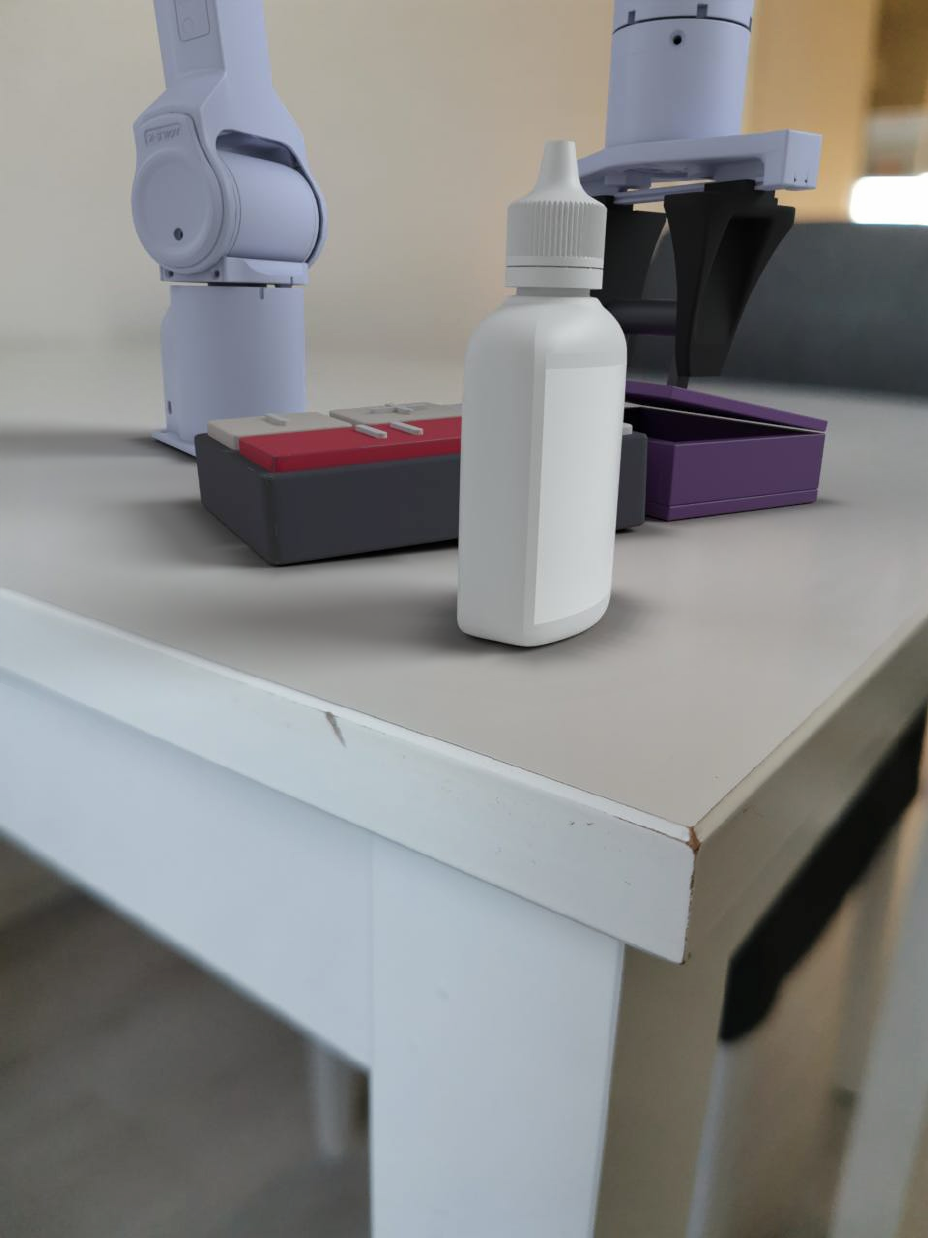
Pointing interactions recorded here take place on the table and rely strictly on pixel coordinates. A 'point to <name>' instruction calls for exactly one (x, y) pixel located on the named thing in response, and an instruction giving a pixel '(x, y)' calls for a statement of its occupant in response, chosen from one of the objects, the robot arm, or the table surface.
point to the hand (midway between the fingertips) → (652, 371)
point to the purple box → (723, 464)
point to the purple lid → (661, 321)
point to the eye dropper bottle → (542, 425)
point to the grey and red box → (355, 479)
